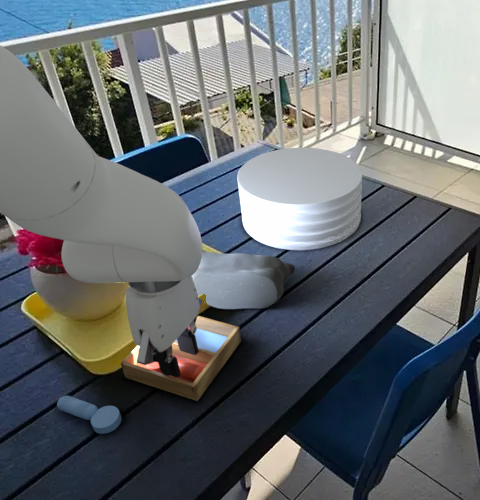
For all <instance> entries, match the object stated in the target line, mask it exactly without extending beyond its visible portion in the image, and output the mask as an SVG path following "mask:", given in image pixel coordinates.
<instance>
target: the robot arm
mask: <svg viewBox="0 0 480 500" xmlns="http://www.w3.org/2000/svg"><path fill="white" fill-rule="evenodd" d="M0 214H1V215H3V216H4V217H5V218H7V219H9V220H10V221H11V222H13V223H14V224H15V225H17V226H19V227H20V228H22V229H23V230H25V231H28V232H31V233H32V234H35V235H39V236H43V237H48V238H51V239H57V240H61V241H63V242H62V247H61V254H60V256H61V257H60V258H61V262H62V266H63V269H64V270H65V271H66V273H67V274H68V275H69V276H70V277H71V278H72V279H74V280H76V281H78V282H82V283H86V284H127V283H128V288H127V289H126V290H125V304H126V305H125V306H126V313H127V314H126V315H127V320H128V324H129V328H130V333H131V336H132V340H133V342H134V344H135V346H136V347H137V346H140V347H139V353H138V358H137V362H138V363H140V364H143V365H148V364H151V363H153V362H158V364H159V367H160V371H161V372H162V373H163V374H164V375H167V376H174V377H177V378H178V377H179V376H180V375H181V374H180V373H181V372H180V369H179V365H178V361H177V358H176V357H175V356H173V353H172V344H173V343H174V341H175V340H176V339H177V342H178V345H179V349H180V351H183V352H186V353H189V354H193V355H197V354H198V352H199V350H198V346H197V341H196V337H195V335H194V334H195V333H196V331H197V327H196V325H195V323H196V319H197V317H198V316H199V312H200V308H201V305H202V302H203V301H202V300H201V299H200V298H199V296H198V295H197V291H196V287H195V284H194V281H193V278H192V275H193V274H194V273H195V272H196V270H197V269H199V265H200V262H201V259H202V252H203V241H202V236H201V232H200V229H199V226H198V224H197V222H196V220H195V218H194V216H193V214H192V212H191V210H190V209H189V207H188V206H187V203H186V202H185V201H184V200H183V198H182V197H181V196H180V195H179V194H178V193H177V192H176V191H174V190H173V189H172V188H170V187H169V186H167V185H165V184H164V183H161V182H159V181H158V180H156V179H153V178H152V177H149V176H146V175H144V174H141V173H140V172H138V171H136V170H134V169H131V168H129V167H127V166H124V165H122V164H120V163H118V162H115V161H113V160H110V159H107V158H104V157H102V156H99V155H98V154H97V153H96V152H95V150H94V149H93V148H92V147H91V145H90V144H89V143H88V141H87V140H86V139H85V138H84V137H83V135H82V134H81V133H80V132H79V130H78V129H77V127H76V126H75V125H74V124H73V123H72V122H71V120H70V119H69V118H68V117H67V116H66V114H65V112H64V111H63V110H62V109H61V108H60V107H59V105H58V103H56V101H55V100H54V98H52V97H51V95H50V94H49V93H48V91H47V90H46V88H44V86H43V85H42V84H41V83H40V81H39V80H38V79H37V78H36V76H35V75H34V74H33V72H31V71H30V69H29V68H28V67H27V66H26V64H25V63H23V61H22V60H20V59H19V58H18V56H16V55H15V54H14V53H13V52H11V51H10V50H8V49H7V48H6V47H4V46H2V45H1V44H0Z"/></svg>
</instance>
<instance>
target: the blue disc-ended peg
mask: <svg viewBox="0 0 480 500" xmlns="http://www.w3.org/2000/svg"><path fill="white" fill-rule="evenodd" d="M56 407H57V409H58V410H59V411H61V412H64V413H67V414H69V415H72V416H75V417H77V418H79V419H83V420H86V421H90V424H91V427H92V428H93V431H94V432H96V434H100V435H103V434H109V433H111V432H113V431H115V430H116V429H117V428H118V427H119V426H120V424H121V423H122V415H121V412H120V410H119V408H118V407H116V406H115V405H105V406H102V407H100V408H99V407H98V406H97V405H96V404H93V403H91V402H87V401H85V400H83V399H80V398H76V397H74V396H71V395H62V396H61V397H59V398H58V400H57V402H56Z"/></svg>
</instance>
